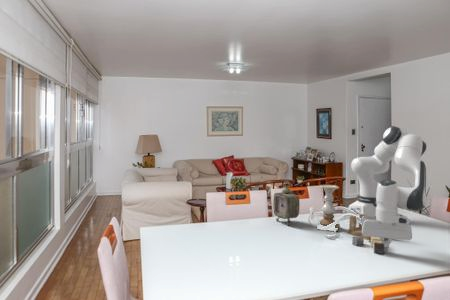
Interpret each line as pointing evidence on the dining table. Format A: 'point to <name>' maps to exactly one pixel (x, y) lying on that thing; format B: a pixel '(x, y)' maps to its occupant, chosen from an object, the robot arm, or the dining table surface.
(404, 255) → the dining table surface
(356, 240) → the block
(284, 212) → the tabletop clock
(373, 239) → the hinged leg
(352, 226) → the stool seat
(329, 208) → the candle holder
